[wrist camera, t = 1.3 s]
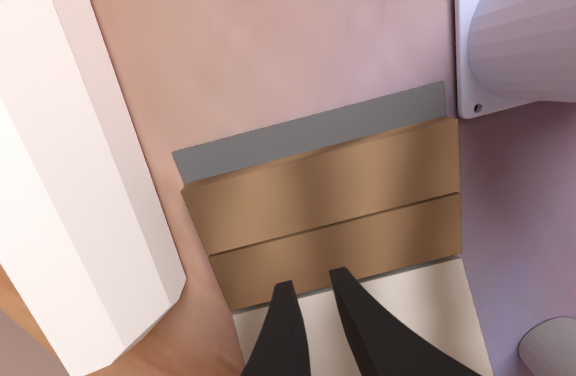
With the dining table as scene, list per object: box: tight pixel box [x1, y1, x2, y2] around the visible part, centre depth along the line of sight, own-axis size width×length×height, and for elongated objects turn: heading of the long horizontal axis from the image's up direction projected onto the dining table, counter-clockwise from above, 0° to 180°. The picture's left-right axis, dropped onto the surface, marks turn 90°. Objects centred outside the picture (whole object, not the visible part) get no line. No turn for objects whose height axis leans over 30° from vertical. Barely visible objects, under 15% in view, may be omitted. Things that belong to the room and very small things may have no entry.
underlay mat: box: [172, 81, 446, 185], centre depth 20 cm, size 16×21×1 cm
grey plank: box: [232, 255, 493, 376], centre depth 20 cm, size 16×9×2 cm, turn 104°
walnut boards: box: [181, 117, 462, 311], centre depth 18 cm, size 16×9×2 cm, turn 104°
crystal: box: [0, 0, 186, 376], centre depth 14 cm, size 7×7×24 cm
